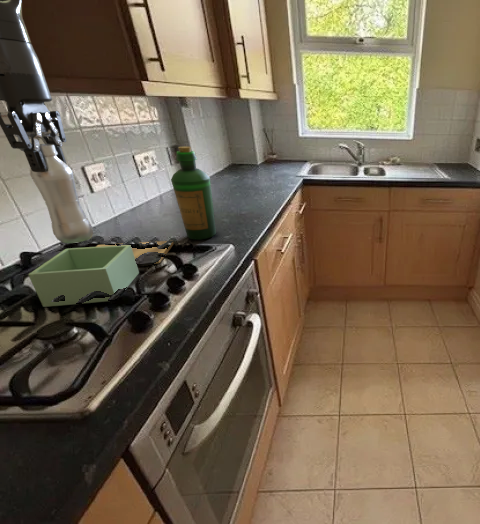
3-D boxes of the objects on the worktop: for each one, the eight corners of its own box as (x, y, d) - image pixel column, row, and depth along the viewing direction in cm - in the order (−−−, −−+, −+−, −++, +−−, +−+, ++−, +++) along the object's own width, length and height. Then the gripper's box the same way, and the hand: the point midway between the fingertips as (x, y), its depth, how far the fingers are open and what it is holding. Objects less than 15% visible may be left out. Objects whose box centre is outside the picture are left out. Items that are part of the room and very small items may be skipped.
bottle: (177, 236, 108) (156, 146, 96) (207, 228, 116) (191, 144, 104) (196, 244, 103) (176, 150, 91) (226, 235, 111) (211, 147, 99)
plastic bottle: (71, 248, 69) (33, 147, 60) (49, 243, 70) (9, 145, 62) (103, 238, 74) (72, 144, 66) (82, 234, 76) (49, 142, 67)
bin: (43, 307, 70) (27, 274, 67) (77, 277, 82) (65, 248, 78) (116, 300, 73) (105, 268, 70) (139, 272, 85) (130, 244, 82)
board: (73, 269, 86) (72, 265, 85) (99, 248, 98) (98, 244, 97) (159, 263, 90) (158, 259, 90) (173, 244, 102) (172, 240, 102)
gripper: (17, 73, 64) (50, 162, 71) (-47, 66, 51) (0, 175, 59) (63, 75, 66) (90, 162, 73) (11, 69, 53) (51, 175, 60)
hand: (50, 168), depth 66 cm, fingers closed on plastic bottle, 6 cm apart
